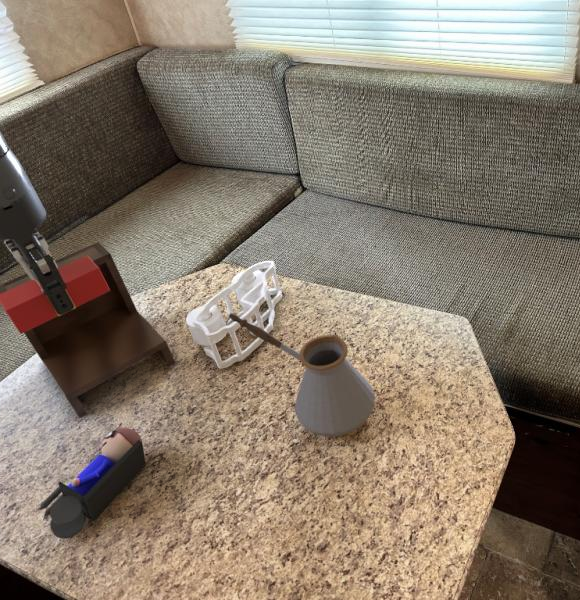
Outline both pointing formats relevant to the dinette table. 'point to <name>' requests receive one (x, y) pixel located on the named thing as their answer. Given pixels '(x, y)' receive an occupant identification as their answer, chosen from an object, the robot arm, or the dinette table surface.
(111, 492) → the character figurine
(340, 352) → the coffee pot
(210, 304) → the car outline toy
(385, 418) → the dinette table surface
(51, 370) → the shelf rack
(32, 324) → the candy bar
